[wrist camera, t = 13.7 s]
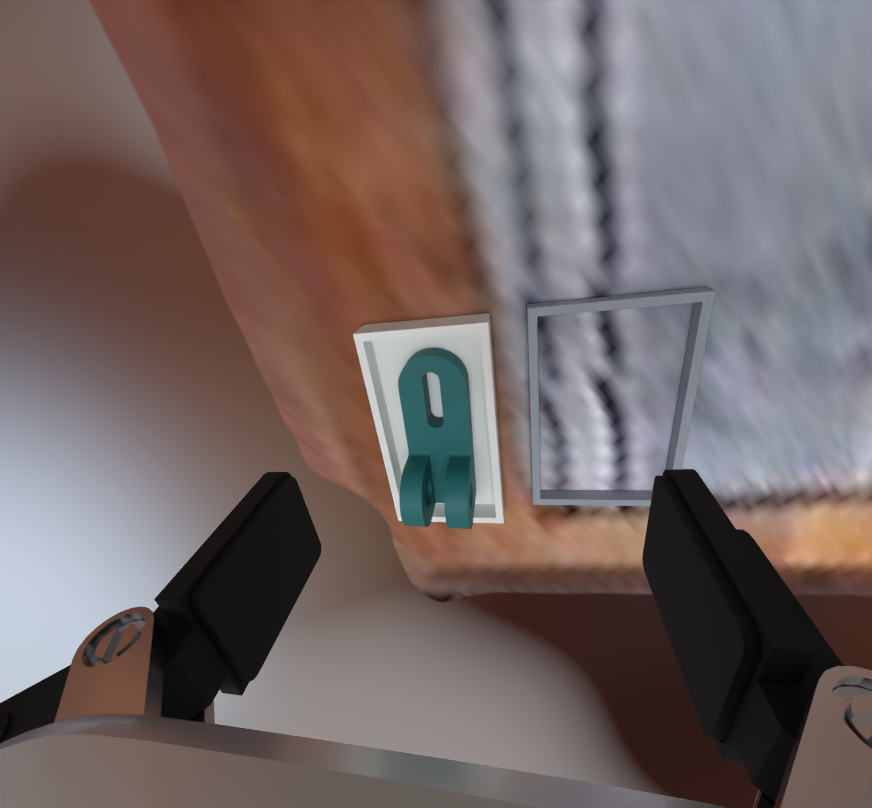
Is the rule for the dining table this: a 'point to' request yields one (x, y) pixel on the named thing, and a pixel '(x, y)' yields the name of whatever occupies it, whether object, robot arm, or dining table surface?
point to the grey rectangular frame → (686, 397)
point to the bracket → (437, 441)
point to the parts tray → (435, 397)
